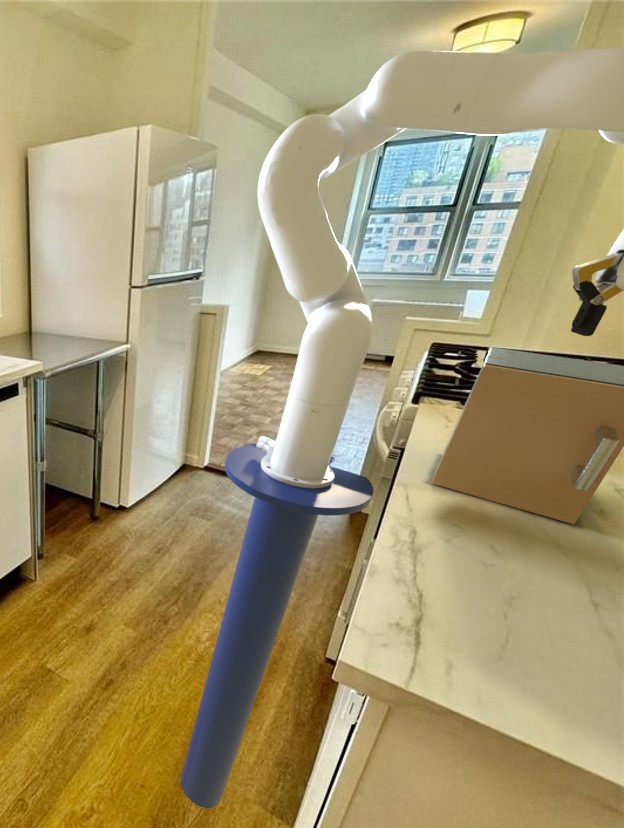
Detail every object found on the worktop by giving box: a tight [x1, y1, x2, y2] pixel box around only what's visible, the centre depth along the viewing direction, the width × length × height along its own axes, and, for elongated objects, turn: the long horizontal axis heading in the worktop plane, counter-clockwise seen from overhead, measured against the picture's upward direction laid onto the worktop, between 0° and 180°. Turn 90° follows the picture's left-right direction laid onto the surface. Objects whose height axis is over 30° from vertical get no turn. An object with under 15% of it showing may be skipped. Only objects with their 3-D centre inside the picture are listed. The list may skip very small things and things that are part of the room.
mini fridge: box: [431, 346, 624, 481], centre depth 81 cm, size 14×18×22 cm
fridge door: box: [431, 364, 624, 525], centre depth 74 cm, size 7×18×22 cm, turn 46°
